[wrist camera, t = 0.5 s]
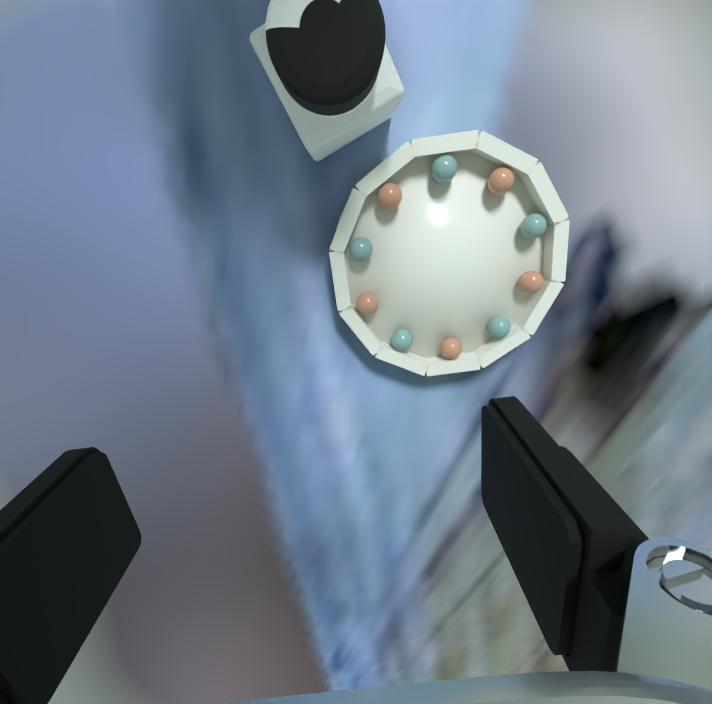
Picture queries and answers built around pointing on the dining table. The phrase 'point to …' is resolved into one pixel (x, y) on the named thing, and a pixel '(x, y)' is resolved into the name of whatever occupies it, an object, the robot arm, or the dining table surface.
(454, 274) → the tray
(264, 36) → the medicine bottle
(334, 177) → the dining table surface
